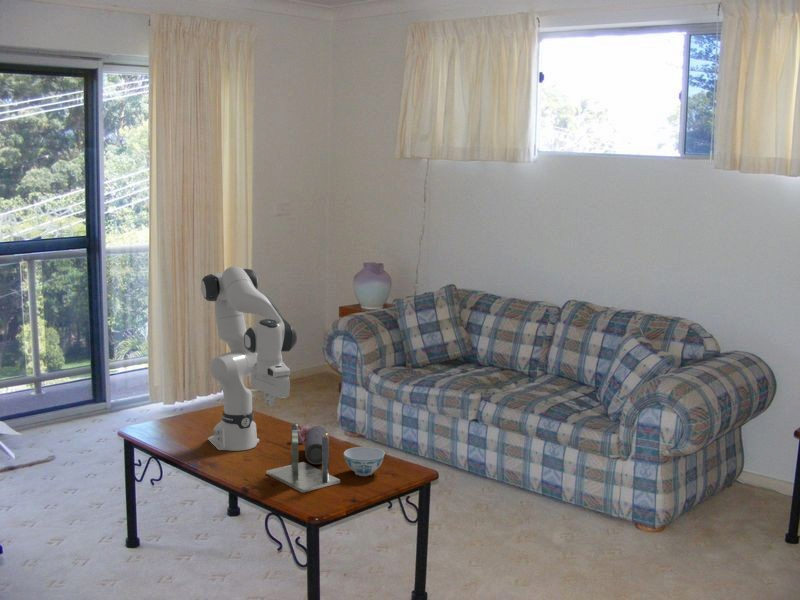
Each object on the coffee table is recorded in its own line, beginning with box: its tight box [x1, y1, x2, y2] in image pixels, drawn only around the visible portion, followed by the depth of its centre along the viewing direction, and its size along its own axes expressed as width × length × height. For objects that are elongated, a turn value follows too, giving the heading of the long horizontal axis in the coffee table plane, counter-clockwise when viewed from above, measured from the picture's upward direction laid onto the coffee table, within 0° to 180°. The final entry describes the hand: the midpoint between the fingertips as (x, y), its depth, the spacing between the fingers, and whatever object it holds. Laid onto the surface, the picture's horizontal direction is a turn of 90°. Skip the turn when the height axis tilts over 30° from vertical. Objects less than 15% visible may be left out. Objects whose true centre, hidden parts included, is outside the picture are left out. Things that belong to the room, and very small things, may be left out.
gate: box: [291, 430, 299, 481], centre depth 313 cm, size 16×2×14 cm, turn 8°
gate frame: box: [265, 423, 341, 494], centre depth 313 cm, size 24×16×19 cm, turn 40°
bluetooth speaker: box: [304, 425, 329, 465], centre depth 336 cm, size 23×9×10 cm, turn 4°
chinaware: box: [343, 446, 385, 477], centre depth 320 cm, size 15×15×8 cm
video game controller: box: [298, 425, 312, 445], centre depth 357 cm, size 10×5×7 cm, turn 141°
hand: (269, 405), depth 302 cm, fingers closed
